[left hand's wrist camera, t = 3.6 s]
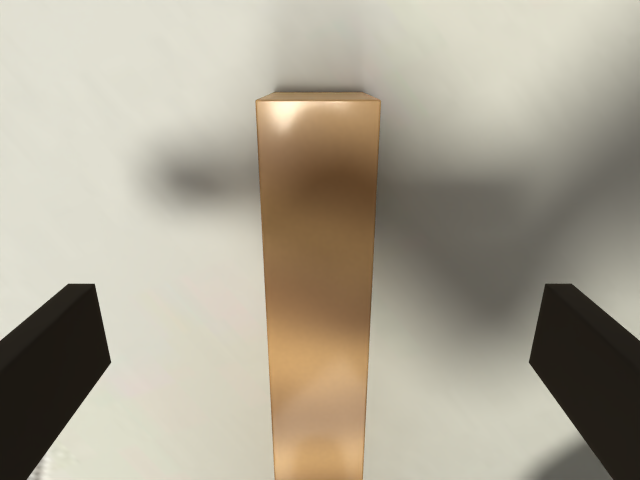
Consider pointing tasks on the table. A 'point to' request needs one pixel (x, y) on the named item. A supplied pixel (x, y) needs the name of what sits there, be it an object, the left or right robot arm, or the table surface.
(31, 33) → the table surface
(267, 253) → the bar
